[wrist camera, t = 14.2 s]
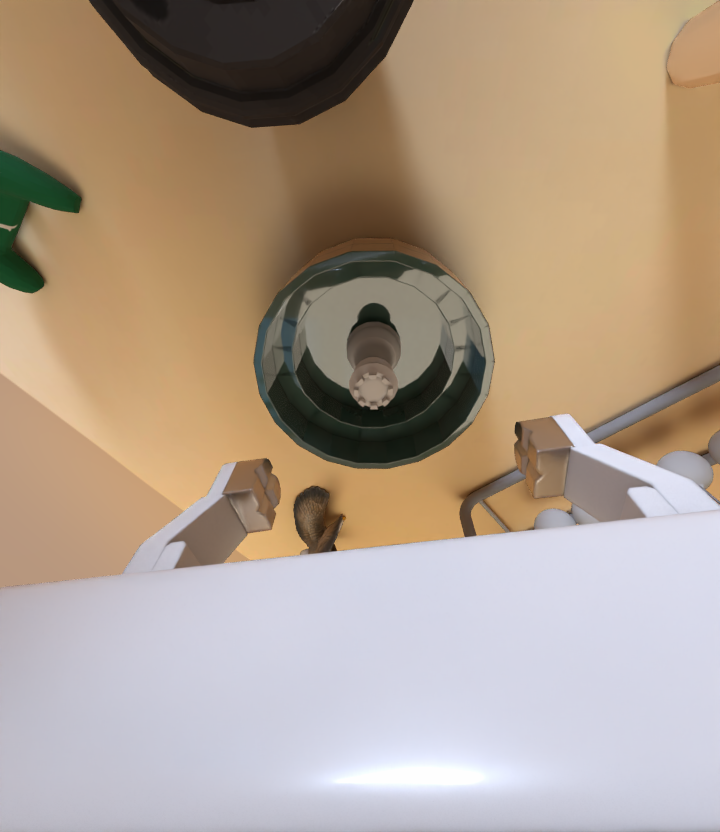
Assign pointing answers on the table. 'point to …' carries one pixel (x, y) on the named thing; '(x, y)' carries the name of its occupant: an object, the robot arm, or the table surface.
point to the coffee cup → (258, 51)
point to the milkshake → (697, 51)
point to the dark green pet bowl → (416, 369)
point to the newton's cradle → (675, 461)
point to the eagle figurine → (315, 522)
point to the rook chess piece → (373, 363)
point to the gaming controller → (6, 206)
